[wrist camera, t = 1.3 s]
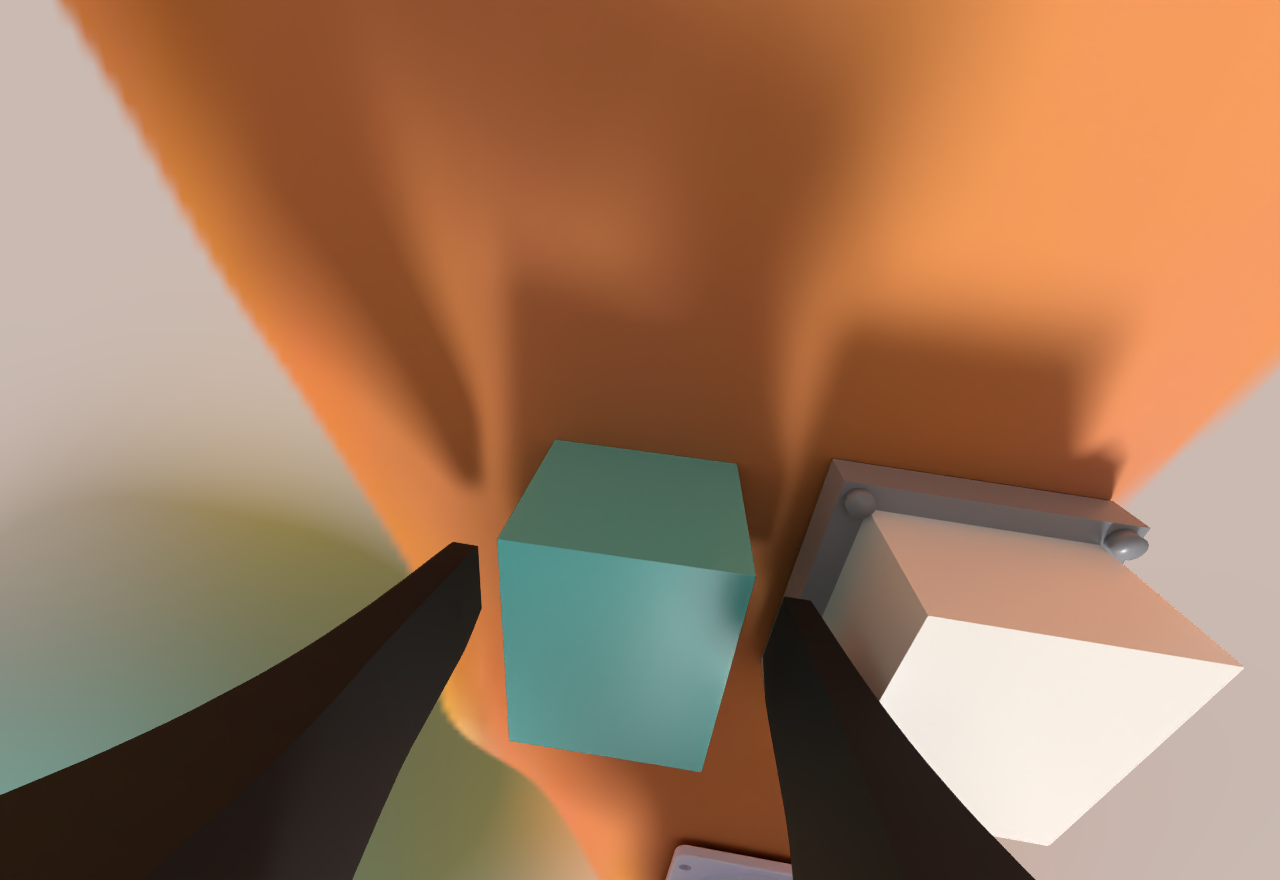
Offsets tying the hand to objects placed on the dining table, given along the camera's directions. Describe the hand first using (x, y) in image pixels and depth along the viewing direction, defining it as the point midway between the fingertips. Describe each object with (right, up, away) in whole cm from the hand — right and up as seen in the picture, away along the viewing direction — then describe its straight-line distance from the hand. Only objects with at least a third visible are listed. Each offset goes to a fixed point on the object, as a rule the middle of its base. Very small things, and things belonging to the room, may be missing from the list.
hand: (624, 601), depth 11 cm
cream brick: (+8, 0, +1) cm, 8 cm away
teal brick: (0, +1, +2) cm, 2 cm away
